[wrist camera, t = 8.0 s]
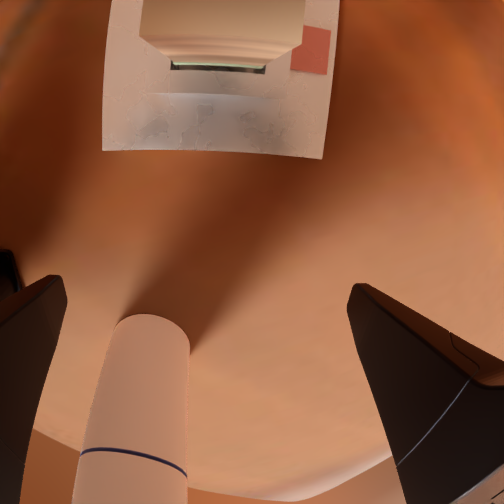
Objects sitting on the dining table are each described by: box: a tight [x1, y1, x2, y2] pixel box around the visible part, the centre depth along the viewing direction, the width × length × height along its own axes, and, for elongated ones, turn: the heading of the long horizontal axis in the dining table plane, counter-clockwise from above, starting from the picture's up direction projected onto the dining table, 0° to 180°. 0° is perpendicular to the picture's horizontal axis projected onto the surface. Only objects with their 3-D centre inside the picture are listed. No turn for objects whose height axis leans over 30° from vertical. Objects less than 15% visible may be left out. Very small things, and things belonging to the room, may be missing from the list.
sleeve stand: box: [102, 0, 340, 159], centre depth 14 cm, size 14×14×4 cm
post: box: [139, 0, 306, 69], centre depth 9 cm, size 4×4×8 cm
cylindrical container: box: [72, 314, 190, 504], centre depth 16 cm, size 7×7×25 cm
